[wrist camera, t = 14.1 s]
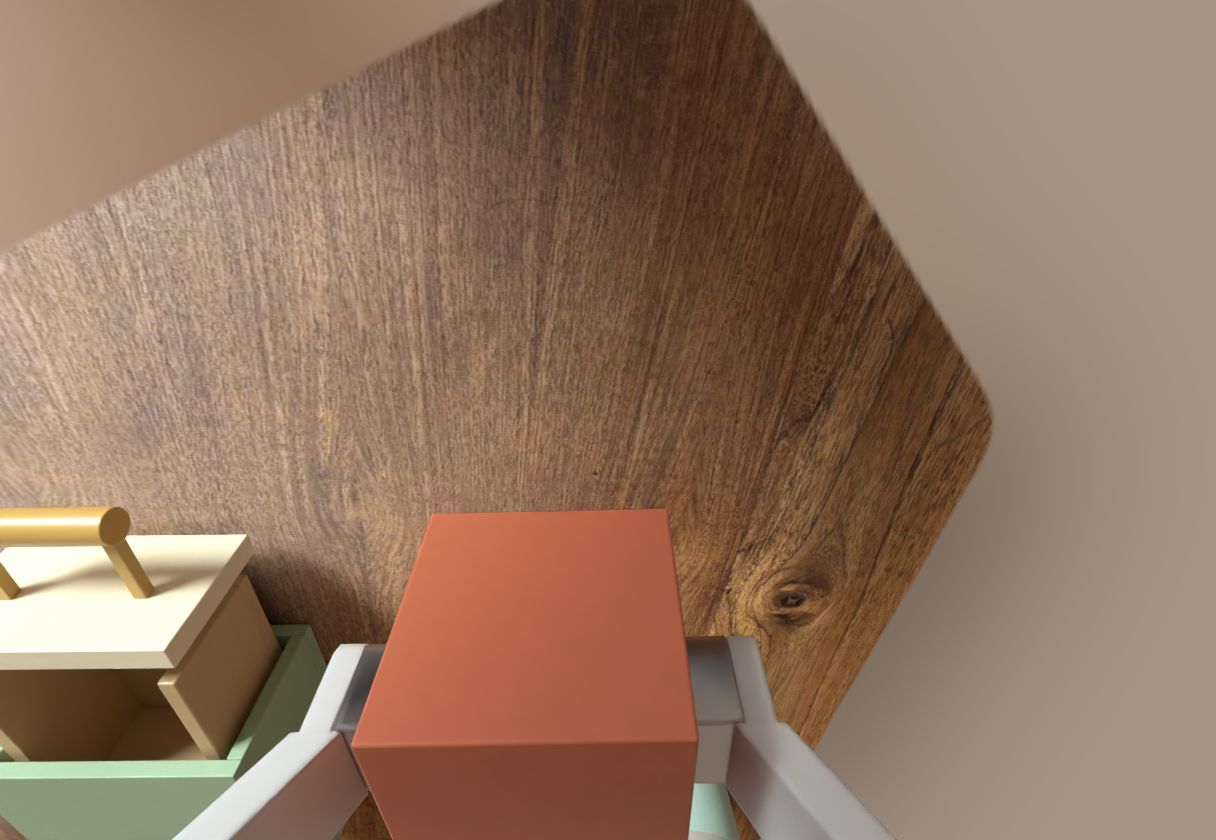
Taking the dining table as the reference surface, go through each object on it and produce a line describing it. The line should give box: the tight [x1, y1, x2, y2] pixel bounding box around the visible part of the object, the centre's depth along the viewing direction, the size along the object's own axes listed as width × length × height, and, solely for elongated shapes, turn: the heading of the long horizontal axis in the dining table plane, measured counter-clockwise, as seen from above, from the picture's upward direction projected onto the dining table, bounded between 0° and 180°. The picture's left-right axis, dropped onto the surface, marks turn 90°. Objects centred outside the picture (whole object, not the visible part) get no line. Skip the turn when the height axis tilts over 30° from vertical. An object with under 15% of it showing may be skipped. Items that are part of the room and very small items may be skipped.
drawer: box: [0, 507, 282, 762], centre depth 30 cm, size 18×11×7 cm, turn 1°
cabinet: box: [0, 624, 345, 840], centre depth 36 cm, size 15×13×9 cm
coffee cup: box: [688, 784, 740, 840], centre depth 35 cm, size 8×8×12 cm
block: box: [351, 509, 699, 840], centre depth 11 cm, size 4×4×4 cm
